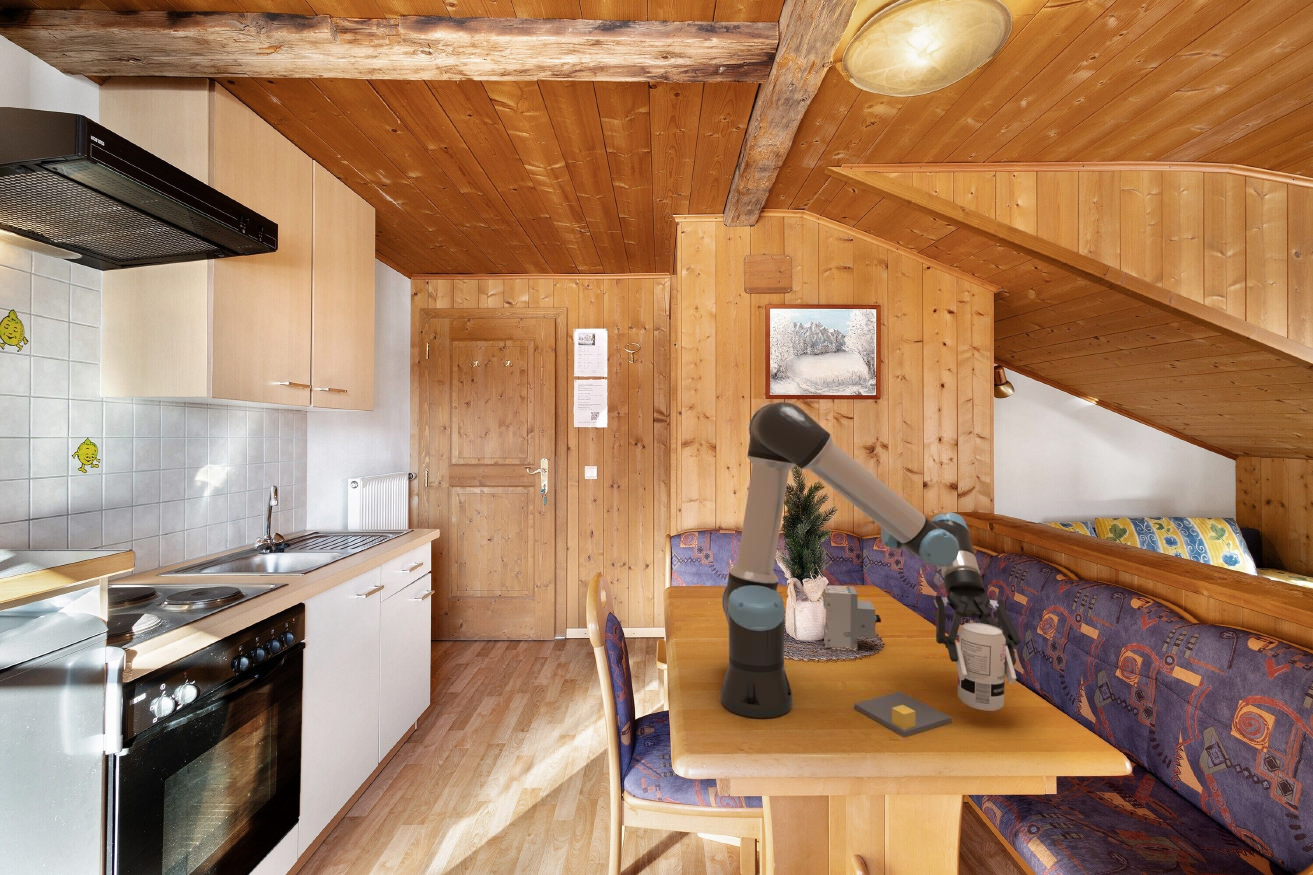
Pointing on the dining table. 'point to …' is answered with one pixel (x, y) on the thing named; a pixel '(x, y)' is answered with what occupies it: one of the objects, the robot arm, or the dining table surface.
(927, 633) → the dining table surface
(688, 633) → the dining table surface
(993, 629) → the supplement can
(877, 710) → the pad
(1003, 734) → the dining table surface
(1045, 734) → the dining table surface
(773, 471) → the robot arm
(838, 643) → the circuit breaker
